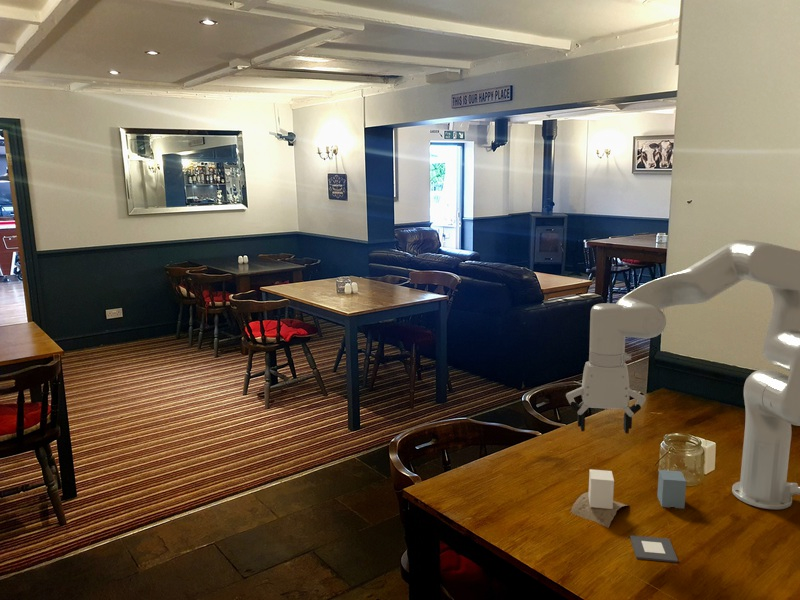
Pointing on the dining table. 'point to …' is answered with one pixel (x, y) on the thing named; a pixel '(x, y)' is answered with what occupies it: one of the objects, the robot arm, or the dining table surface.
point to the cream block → (601, 489)
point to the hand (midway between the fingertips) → (604, 430)
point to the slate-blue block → (671, 489)
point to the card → (653, 548)
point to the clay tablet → (595, 510)
